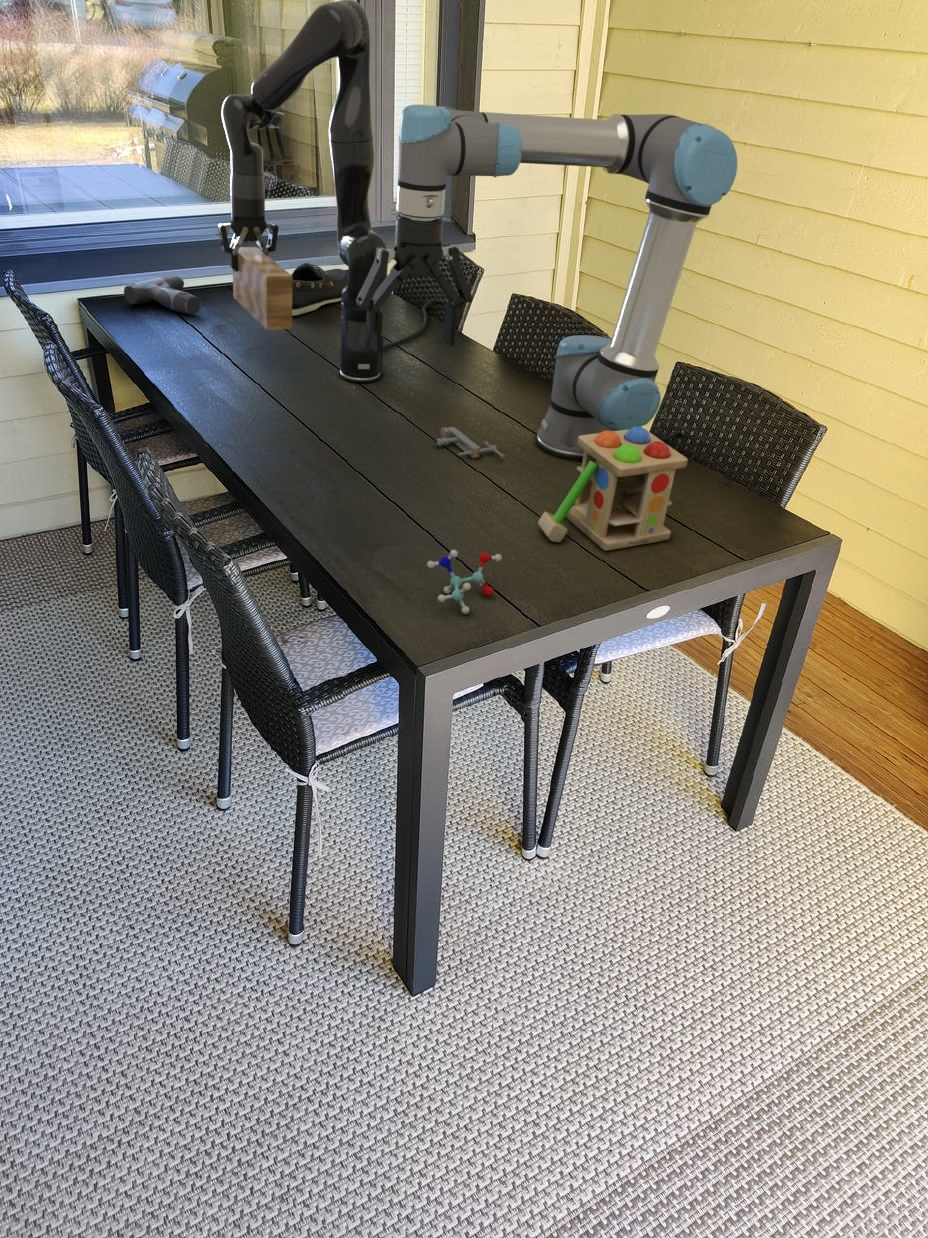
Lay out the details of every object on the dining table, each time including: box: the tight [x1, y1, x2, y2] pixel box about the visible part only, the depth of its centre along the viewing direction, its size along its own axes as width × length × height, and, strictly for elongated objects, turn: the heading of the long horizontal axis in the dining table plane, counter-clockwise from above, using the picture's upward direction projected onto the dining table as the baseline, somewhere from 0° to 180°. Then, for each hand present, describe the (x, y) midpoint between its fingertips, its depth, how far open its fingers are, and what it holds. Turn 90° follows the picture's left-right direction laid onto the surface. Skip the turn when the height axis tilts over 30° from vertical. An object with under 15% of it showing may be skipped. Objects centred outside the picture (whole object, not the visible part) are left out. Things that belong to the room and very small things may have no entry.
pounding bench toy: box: [537, 426, 689, 552], centre depth 173 cm, size 23×14×18 cm, turn 116°
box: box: [232, 246, 293, 331], centre depth 224 cm, size 24×6×12 cm, turn 29°
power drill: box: [123, 275, 201, 316], centre depth 262 cm, size 5×19×20 cm
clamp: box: [436, 426, 507, 460], centre depth 201 cm, size 15×2×10 cm
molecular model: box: [426, 549, 503, 615], centre depth 154 cm, size 12×10×10 cm
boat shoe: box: [290, 262, 348, 317], centre depth 274 cm, size 13×33×10 cm, turn 147°
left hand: (249, 269), depth 230 cm, fingers closed on box, 6 cm apart
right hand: (412, 346), depth 167 cm, fingers open, 13 cm apart
